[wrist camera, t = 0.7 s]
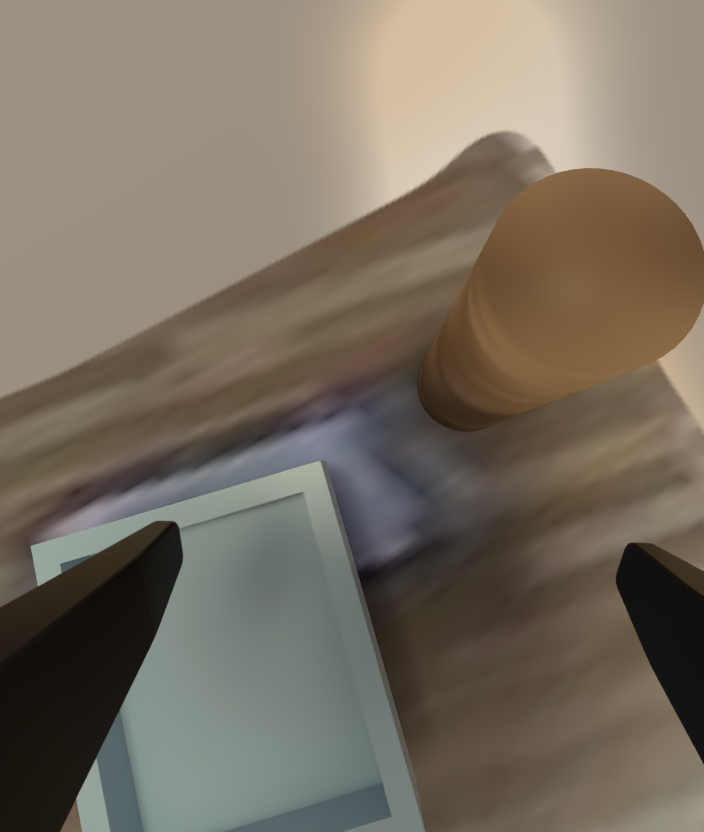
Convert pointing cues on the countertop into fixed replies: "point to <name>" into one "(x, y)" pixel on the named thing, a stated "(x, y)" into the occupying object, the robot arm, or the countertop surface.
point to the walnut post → (564, 298)
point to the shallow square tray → (252, 677)
